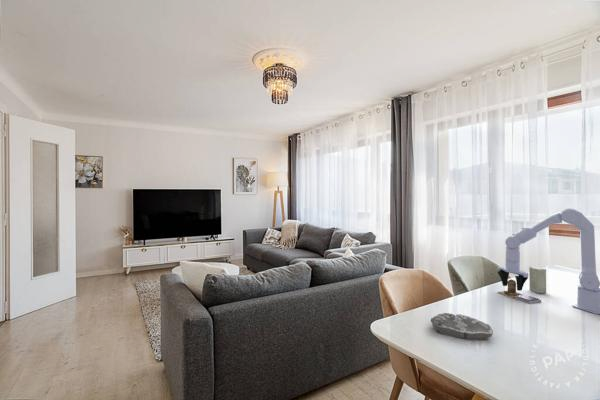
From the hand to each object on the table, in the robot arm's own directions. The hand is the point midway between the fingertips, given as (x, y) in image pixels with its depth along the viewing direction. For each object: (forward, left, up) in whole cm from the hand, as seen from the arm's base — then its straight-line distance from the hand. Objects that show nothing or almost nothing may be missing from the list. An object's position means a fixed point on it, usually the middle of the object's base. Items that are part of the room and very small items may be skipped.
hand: (512, 288), depth 150 cm
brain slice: (-26, +56, -4) cm, 62 cm away
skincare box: (+1, -18, -4) cm, 18 cm away
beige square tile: (0, 0, -3) cm, 3 cm away
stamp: (0, 0, -3) cm, 3 cm away
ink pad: (-8, 0, -3) cm, 9 cm away
